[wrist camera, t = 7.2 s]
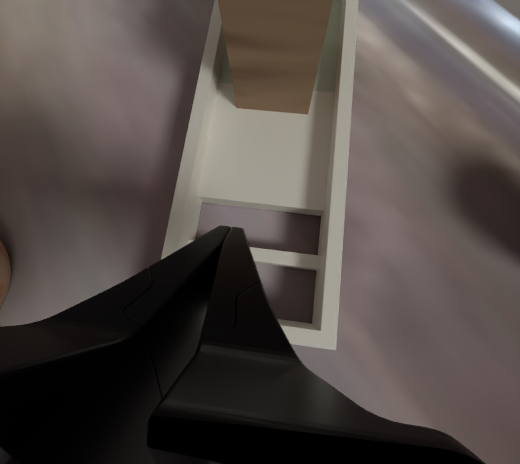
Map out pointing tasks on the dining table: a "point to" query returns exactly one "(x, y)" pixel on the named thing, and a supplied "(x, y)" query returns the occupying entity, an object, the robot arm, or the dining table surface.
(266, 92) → the tan upright block
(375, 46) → the dining table surface
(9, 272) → the orange pumpkin
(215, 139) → the trap box
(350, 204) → the dining table surface
